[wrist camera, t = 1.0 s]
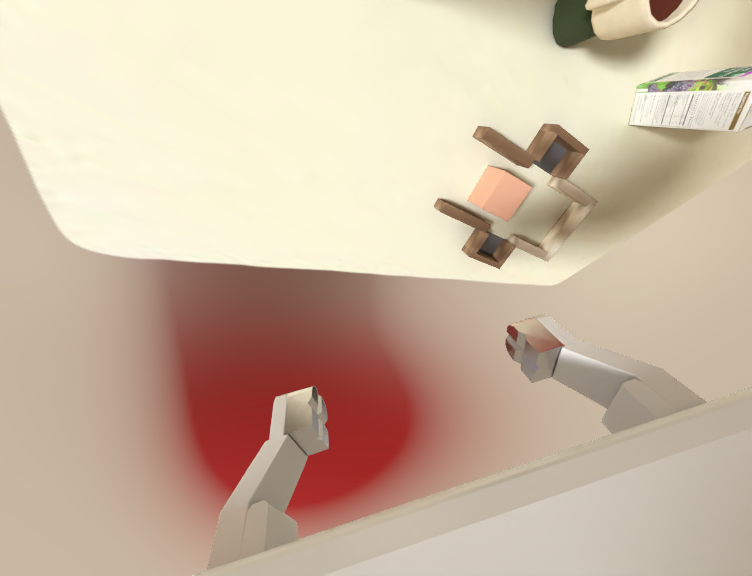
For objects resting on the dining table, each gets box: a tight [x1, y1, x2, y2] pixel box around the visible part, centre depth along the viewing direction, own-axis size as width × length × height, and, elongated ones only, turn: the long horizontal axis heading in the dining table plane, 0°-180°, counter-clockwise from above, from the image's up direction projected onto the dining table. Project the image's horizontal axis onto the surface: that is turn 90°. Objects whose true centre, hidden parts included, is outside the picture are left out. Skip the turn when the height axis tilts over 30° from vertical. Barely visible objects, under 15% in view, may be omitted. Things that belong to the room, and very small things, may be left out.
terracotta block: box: [468, 166, 532, 221], centre depth 44 cm, size 6×6×5 cm
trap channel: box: [434, 124, 598, 269], centre depth 47 cm, size 23×28×3 cm
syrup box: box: [629, 66, 752, 132], centre depth 37 cm, size 6×6×14 cm
